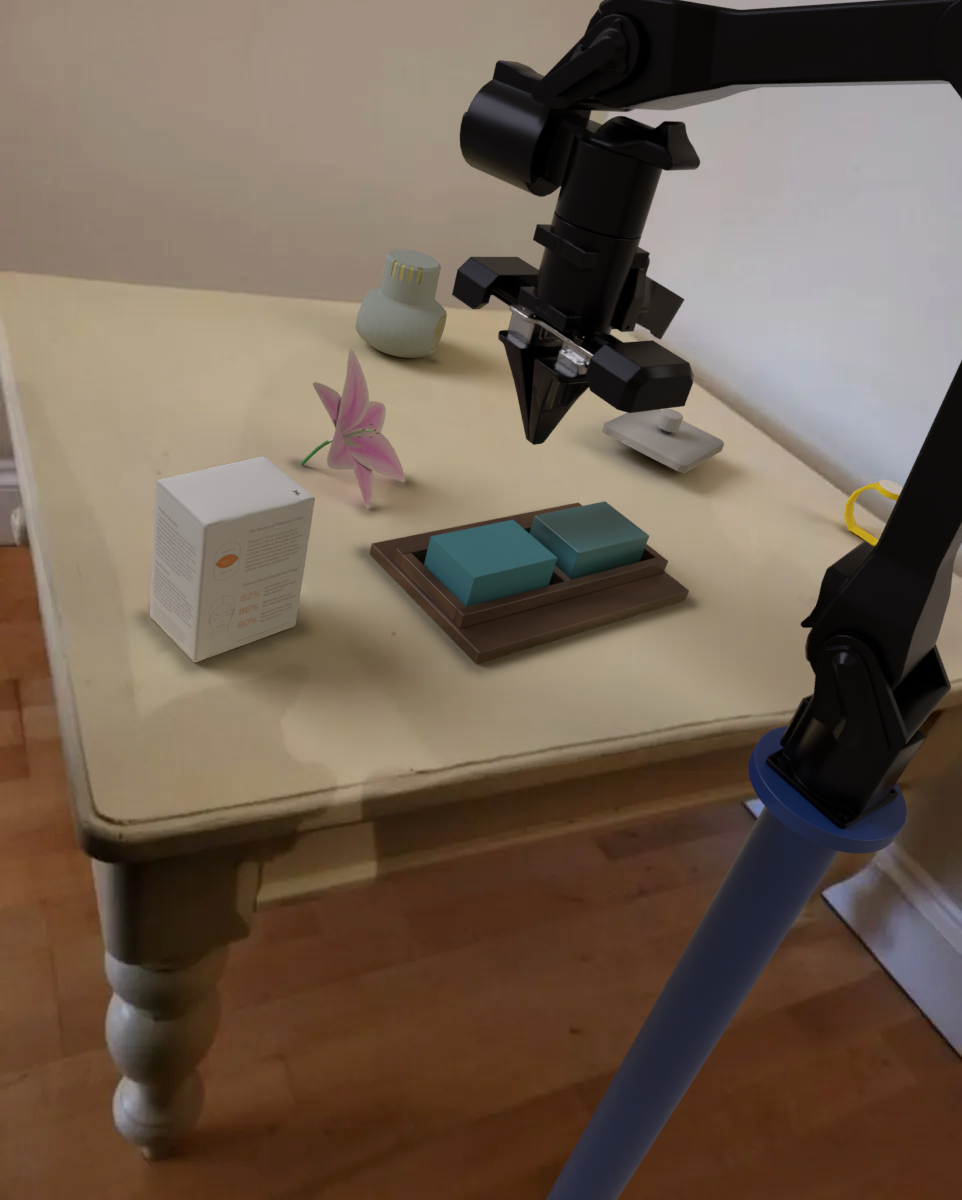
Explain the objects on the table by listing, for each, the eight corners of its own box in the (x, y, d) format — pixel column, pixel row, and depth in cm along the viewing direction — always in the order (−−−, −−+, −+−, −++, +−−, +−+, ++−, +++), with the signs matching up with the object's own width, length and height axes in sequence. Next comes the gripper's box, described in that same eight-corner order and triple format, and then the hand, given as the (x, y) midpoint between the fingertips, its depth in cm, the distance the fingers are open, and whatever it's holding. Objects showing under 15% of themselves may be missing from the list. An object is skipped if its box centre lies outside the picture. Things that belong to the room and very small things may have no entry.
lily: (293, 532, 80) (370, 454, 76) (229, 416, 84) (299, 335, 79) (388, 533, 90) (460, 465, 86) (327, 430, 94) (394, 359, 89)
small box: (250, 584, 72) (266, 453, 66) (297, 628, 69) (318, 495, 63) (145, 616, 66) (153, 476, 60) (192, 666, 64) (205, 524, 58)
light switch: (676, 491, 100) (694, 445, 97) (593, 447, 103) (608, 402, 101) (717, 465, 107) (735, 422, 104) (638, 425, 111) (653, 383, 108)
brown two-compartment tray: (685, 600, 84) (702, 560, 81) (476, 664, 70) (489, 618, 68) (575, 511, 92) (588, 472, 89) (369, 553, 78) (377, 509, 76)
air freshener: (375, 322, 118) (390, 235, 112) (443, 342, 117) (462, 256, 112) (346, 353, 108) (361, 260, 103) (420, 375, 108) (439, 283, 103)
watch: (831, 525, 101) (857, 473, 98) (843, 519, 103) (869, 468, 100) (885, 557, 99) (913, 504, 95) (896, 549, 100) (925, 498, 97)
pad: (547, 590, 78) (557, 557, 76) (465, 611, 73) (474, 577, 72) (503, 551, 81) (513, 519, 80) (422, 569, 77) (430, 536, 75)
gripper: (787, 279, 64) (700, 493, 73) (592, 179, 74) (537, 376, 83) (668, 281, 57) (588, 516, 66) (473, 171, 68) (426, 386, 77)
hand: (534, 441), depth 73 cm, fingers closed
